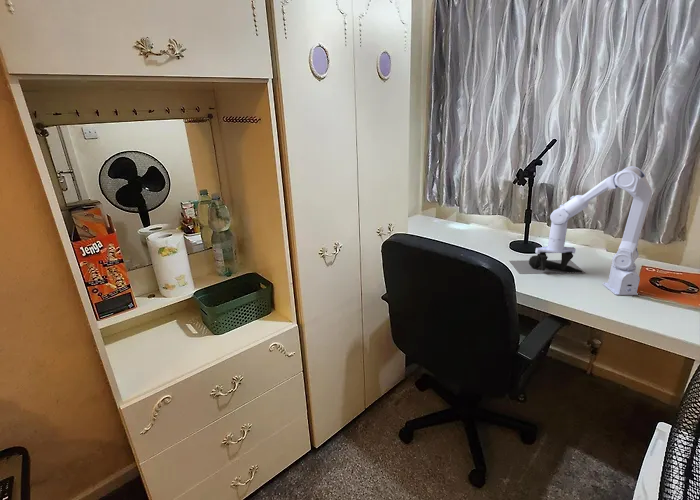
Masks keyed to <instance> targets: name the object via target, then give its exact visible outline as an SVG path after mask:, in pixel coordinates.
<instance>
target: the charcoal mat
mask: <svg viewBox="0 0 700 500" xmlns="http://www.w3.org/2000/svg"><path fill="white" fill-rule="evenodd" d="M548 260H549V259H548ZM561 260H562V259H550V260H549V261H552V262H556V263H560V264H561ZM509 263H510V264H511V265H512V267H513V268H514V269H515V270H516V271H517V273H518V274H520V275H521V274H522V275H523V274H524V275H527V274H531V275H532V274H540V275H541V274H548V275H549V274H586V271H584V270H583V269H582V268H581V267H580V266H579V265H577V264H576V263H574V261H572V259H571V260H570V261H569V262H568V264H567V265H568V266H572V267H573V268H575V269H578V270H581V271H582V272H567V271H561V270H555V269H552V270H551V269H548V268H545V270H544V271H543V270H542V269H541V266H540V267H539V268H536V269H535V268H534V267H531V266H530V264H529V260H509Z"/></svg>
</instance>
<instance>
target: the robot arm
mask: <svg viewBox="0 0 700 500" xmlns="http://www.w3.org/2000/svg"><path fill="white" fill-rule="evenodd" d="M618 188H620V189H622V190H623V191H625V192H627V193H628V194H629V195H630V196H631V197H632V201H631V202H632V203H631V206H630V208H629V213H628V217H627V220H626V224H625V227H624V231H623V235H622V239H621V241H620V244H619V246H618V249H617V252H616V253H615V254H614V255H613V256H612V260H611V261H612V262H611V265H610V270H609V275H608V280H607V282H602V283H601V284H602V285H603V286H604V287H605V288H607V290H609V291H610V292H612V294H614V295H616V296H638V293H639V292H638V288H639V284H640V279H641V277H640V275H639V274H638V273H637V271H636V268H637V265H636V264H635V261H636V260H637V259H638V258H639V250H638V247H639V241H640V236H641V233H642V230H643V227H644V224H645V219H646V217H647V213H648V209H649V206H650V203H651V200H652V195H653V190H652V187H651V185H650V183H649V180H648V179H647V175H646V173H645V172H644V171H643V170H641V169H640V168H639V167H638V166H635V165H630V166H627V167H625V168H623V169H621V171H617V172H616V173H613V174H611V175H609V176H608V177H606V178H605V179H603V180H602V181H601V182H599V183H598V184H596V185H595V186H593V187H592V188H591V189H589V190H588V191H587V192H585V193H584V194H577V195H572V196H571V197H569V200H568V201H566V202H565V203H563V204H562V203H561V204H560V205H559V207H558V208H556V209H554V210H553V211H552V212H551V213H550V215H549V219H550V221H551V223H550V228H549V234H548V235H549V236H548V243H547V246H542V247H536V248H535V251H534V252H535V254H537V255H538V257H539V260H540V264H541V269H542V270H543V271H544V270H545V265H546V260H548V258H549V257H548V255H547V254H561V259H560V260H561V266H560V268H561V269H562V270H565V267H566V265H567V264H568V262H569V261H570V260H571V261H572V259H573V257H574V254H576V248H575V247H574V246H573V247H572V246H570V247H569V246H565V243H566V238H567V237H566V236H567V231H568V222H569V220H570V219H571V218H572V217H574V216H576V215H577V214H580V213H581V212H583V210H585V209H587V208H588V207H589V202H590V201H592V200H594V199H595V198H596V197H598V196H600V195H601V194H603V193H605V192H606V191H608V190H614V189H615V190H616V189H618ZM637 292H638V293H637Z"/></svg>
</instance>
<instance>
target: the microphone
mask: <svg viewBox="0 0 700 500" xmlns="http://www.w3.org/2000/svg"><path fill="white" fill-rule="evenodd" d="M529 264H530V266H531V267H534V268H535V269H536V268H539V267H540V266H541V264H540V260H539V257H538V254H537V255H532V256H530V257H529ZM560 266H561V264H560V263H556V262H552V261H549V259H547V260H546V265H545V268H548V269H551V270H552V269H555V270H561V271H567V272H582V271H581V270H578V269H575V268H573V267H572V266H568V265H566V267H565V270H562V269H561V268H560Z"/></svg>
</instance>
